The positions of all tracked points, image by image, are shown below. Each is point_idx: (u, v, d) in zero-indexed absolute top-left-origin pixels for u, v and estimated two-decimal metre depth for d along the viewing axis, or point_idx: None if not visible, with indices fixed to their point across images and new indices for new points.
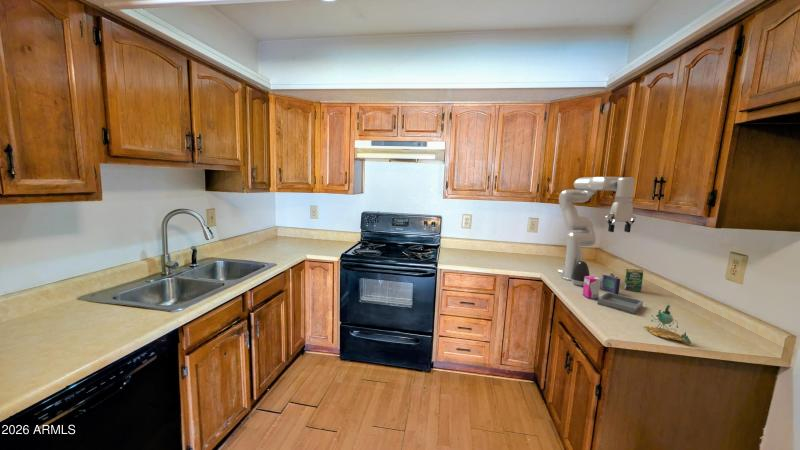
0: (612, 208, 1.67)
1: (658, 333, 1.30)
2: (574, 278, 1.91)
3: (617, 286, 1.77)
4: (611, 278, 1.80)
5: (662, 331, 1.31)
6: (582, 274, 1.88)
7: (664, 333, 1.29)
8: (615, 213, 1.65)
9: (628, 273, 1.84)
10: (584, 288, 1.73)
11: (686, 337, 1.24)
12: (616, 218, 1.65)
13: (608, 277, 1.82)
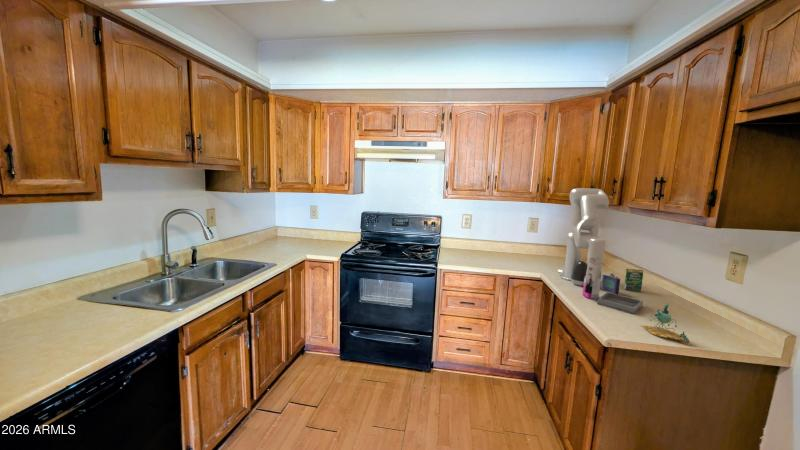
0: None
1: (657, 332, 1.30)
2: (574, 278, 1.91)
3: (617, 286, 1.77)
4: (611, 278, 1.80)
5: (661, 330, 1.31)
6: (582, 274, 1.88)
7: (663, 332, 1.30)
8: None
9: (628, 273, 1.84)
10: (584, 288, 1.73)
11: (684, 336, 1.24)
12: None
13: (608, 277, 1.82)
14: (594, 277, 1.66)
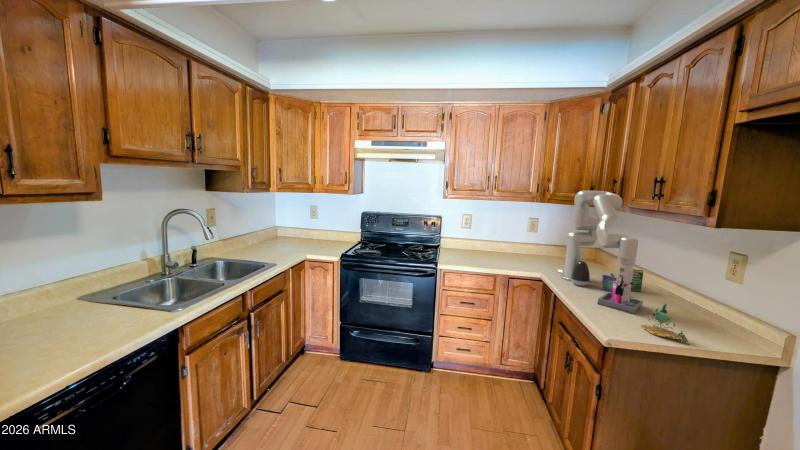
0: None
1: (655, 332, 1.31)
2: (574, 278, 1.91)
3: None
4: (611, 278, 1.80)
5: (659, 330, 1.32)
6: (582, 274, 1.88)
7: (661, 332, 1.30)
8: None
9: None
10: (613, 294, 1.63)
11: (683, 336, 1.25)
12: None
13: (608, 277, 1.82)
14: (626, 279, 1.55)
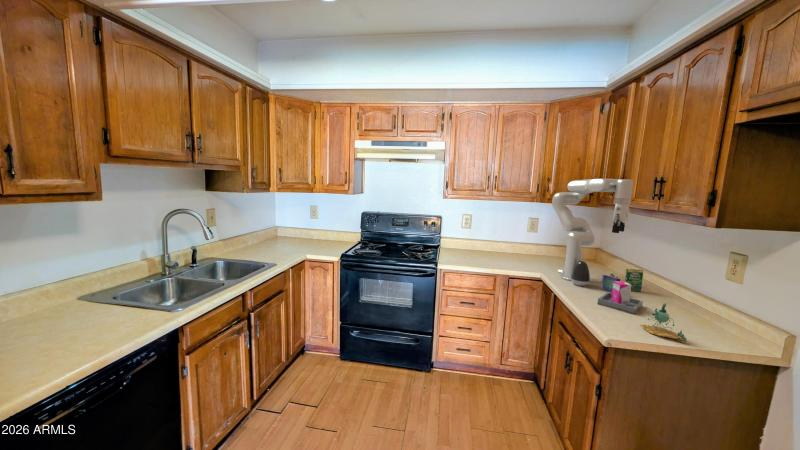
0: None
1: (654, 331, 1.31)
2: (574, 278, 1.91)
3: None
4: (611, 278, 1.80)
5: (658, 329, 1.32)
6: (582, 274, 1.88)
7: (660, 331, 1.31)
8: None
9: (628, 273, 1.84)
10: (613, 294, 1.63)
11: (682, 335, 1.25)
12: None
13: (608, 277, 1.82)
14: (622, 217, 1.68)
